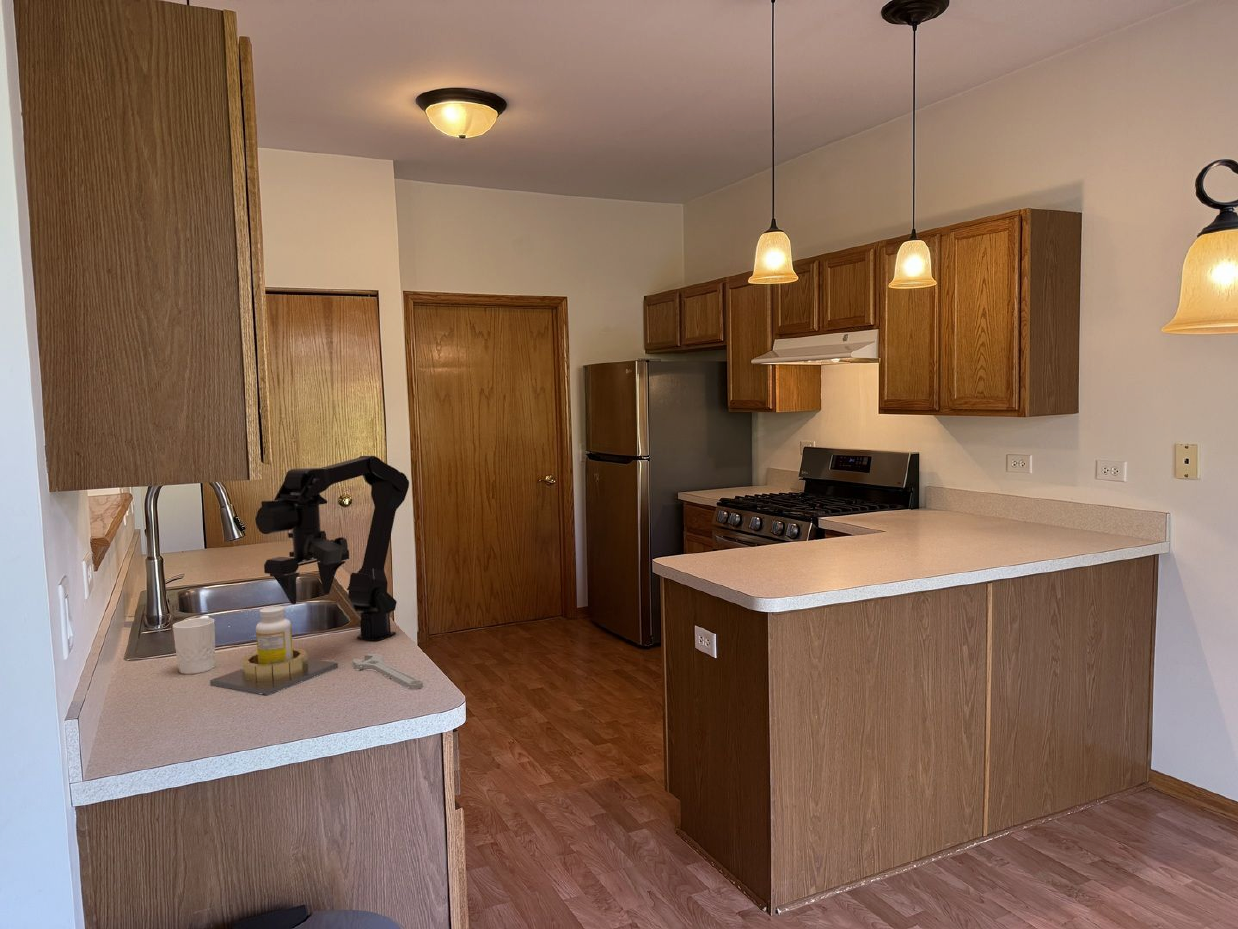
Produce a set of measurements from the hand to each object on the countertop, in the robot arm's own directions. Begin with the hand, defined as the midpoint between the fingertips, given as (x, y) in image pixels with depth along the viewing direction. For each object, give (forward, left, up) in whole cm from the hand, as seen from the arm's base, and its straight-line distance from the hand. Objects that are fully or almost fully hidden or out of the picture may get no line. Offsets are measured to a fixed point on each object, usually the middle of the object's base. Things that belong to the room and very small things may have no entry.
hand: (310, 599), depth 184 cm
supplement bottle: (+12, +2, -12) cm, 17 cm away
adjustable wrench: (+3, +23, -14) cm, 27 cm away
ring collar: (+12, +2, -13) cm, 18 cm away
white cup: (+15, -18, -13) cm, 27 cm away
